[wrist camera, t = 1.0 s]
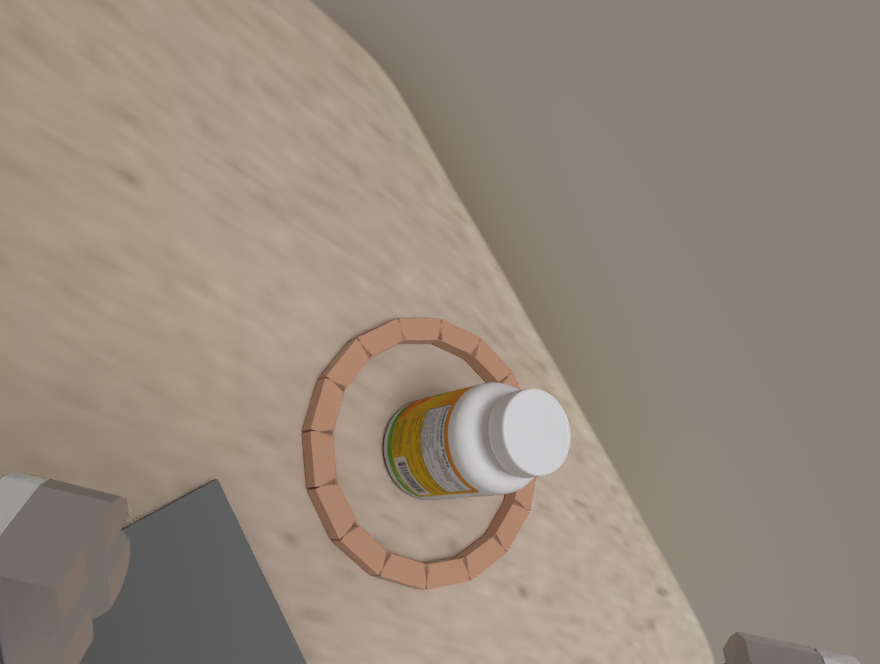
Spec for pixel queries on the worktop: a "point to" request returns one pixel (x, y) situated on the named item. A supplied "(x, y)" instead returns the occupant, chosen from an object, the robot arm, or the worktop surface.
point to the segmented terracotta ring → (324, 468)
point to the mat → (192, 593)
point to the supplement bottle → (476, 441)
